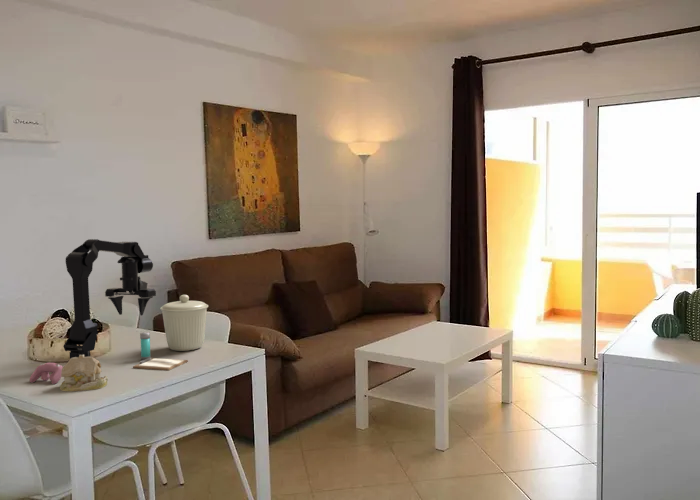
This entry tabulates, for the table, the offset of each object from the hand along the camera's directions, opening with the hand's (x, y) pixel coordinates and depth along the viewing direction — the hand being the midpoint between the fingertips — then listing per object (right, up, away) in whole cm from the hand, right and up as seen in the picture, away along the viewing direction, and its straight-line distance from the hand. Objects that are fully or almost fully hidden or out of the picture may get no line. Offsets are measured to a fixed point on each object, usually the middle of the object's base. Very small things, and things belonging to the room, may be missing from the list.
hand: (131, 314), depth 234 cm
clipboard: (+18, -15, -21) cm, 32 cm away
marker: (+10, -15, -13) cm, 22 cm away
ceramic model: (+2, -17, -45) cm, 49 cm away
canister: (+20, -14, +4) cm, 24 cm away
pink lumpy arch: (-12, -17, -40) cm, 45 cm away
